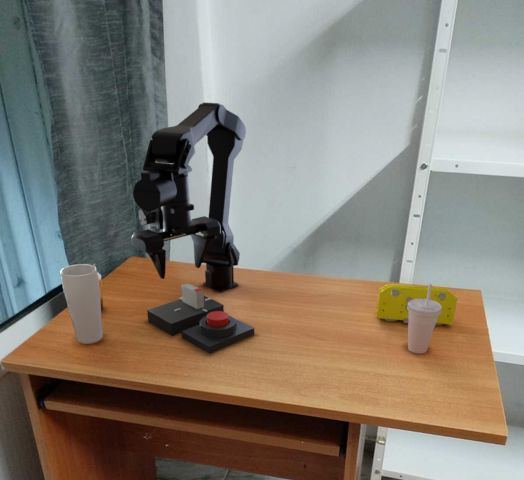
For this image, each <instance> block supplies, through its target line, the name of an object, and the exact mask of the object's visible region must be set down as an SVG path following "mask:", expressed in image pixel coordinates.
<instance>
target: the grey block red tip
mask: <svg viewBox="0 0 524 480" xmlns="http://www.w3.org/2000/svg"><path fill="white" fill-rule="evenodd" d="M180 288H181V298H182V301H183V302H184V303H186V304H188V305H190V306H192V307H194V308H196V309H200V308H203V307H204V297H203V295H204V290H203V288H201V287H197V286H195V285H193V284H190V283H189V282H186V283H184V284H181V287H180Z"/></svg>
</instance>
